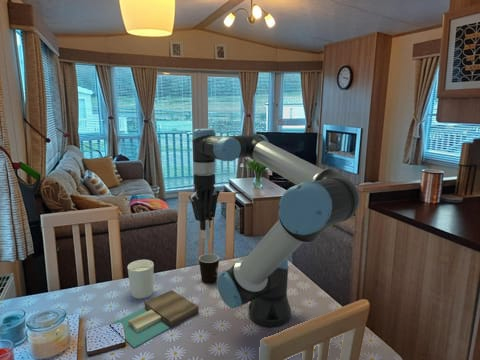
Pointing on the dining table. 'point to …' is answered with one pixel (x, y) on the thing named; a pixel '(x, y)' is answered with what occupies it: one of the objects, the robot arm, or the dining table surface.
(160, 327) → the mat
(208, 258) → the coffee mug
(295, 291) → the dining table surface
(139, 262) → the candle holder
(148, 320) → the light wooden block
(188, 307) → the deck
